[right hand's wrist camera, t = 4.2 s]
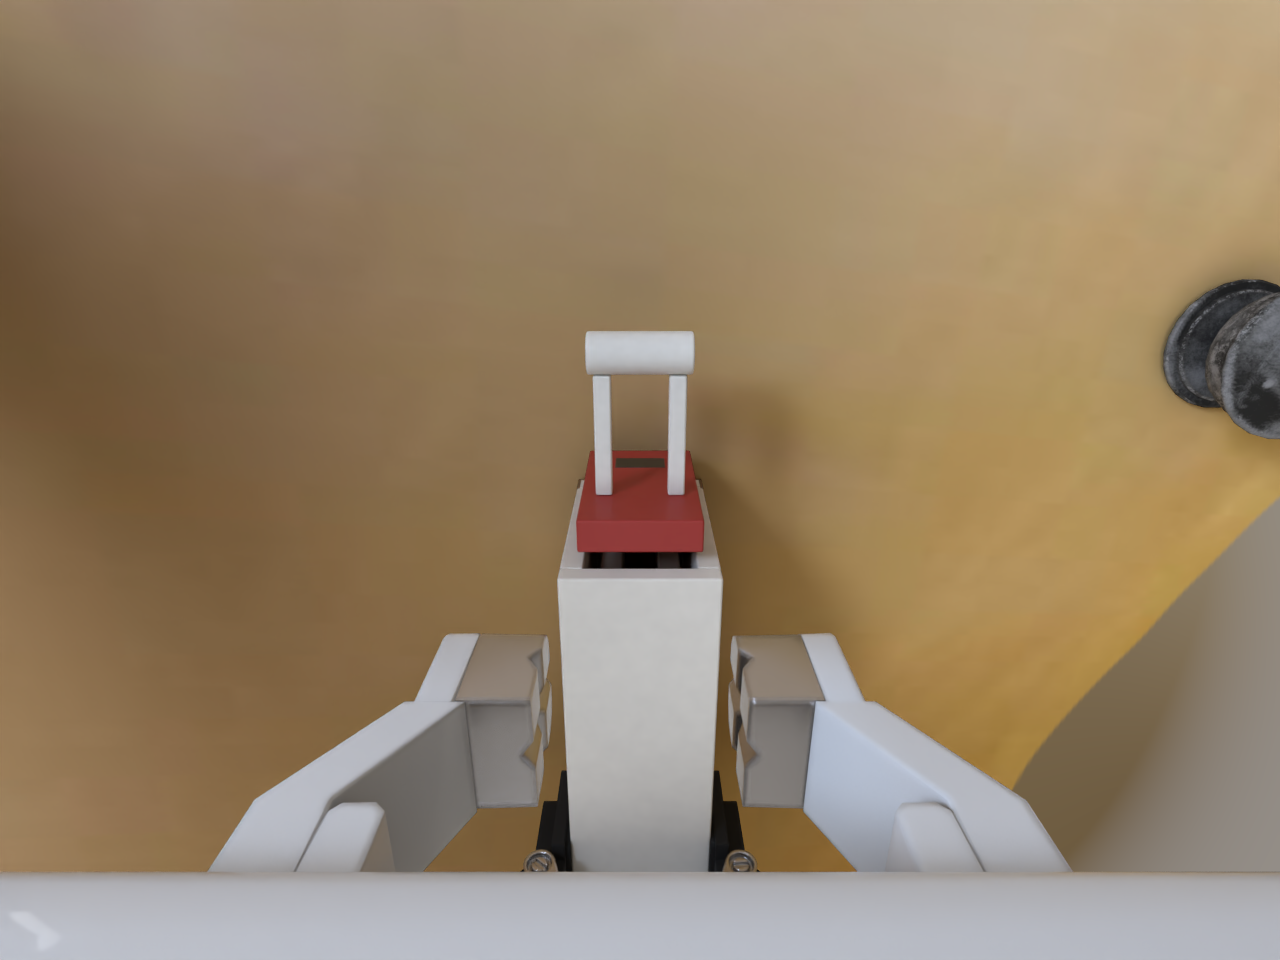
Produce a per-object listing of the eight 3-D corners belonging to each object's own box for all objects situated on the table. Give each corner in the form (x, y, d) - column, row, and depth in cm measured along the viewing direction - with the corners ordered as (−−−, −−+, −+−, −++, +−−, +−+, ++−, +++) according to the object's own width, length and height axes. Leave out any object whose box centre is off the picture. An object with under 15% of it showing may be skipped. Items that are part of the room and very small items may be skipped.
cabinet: (578, 479, 31) (556, 579, 23) (701, 479, 31) (724, 578, 23) (589, 779, 37) (575, 944, 29) (690, 779, 37) (705, 944, 29)
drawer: (586, 311, 27) (568, 345, 21) (693, 311, 27) (711, 344, 21) (598, 751, 36) (589, 877, 29) (681, 751, 36) (691, 876, 29)
